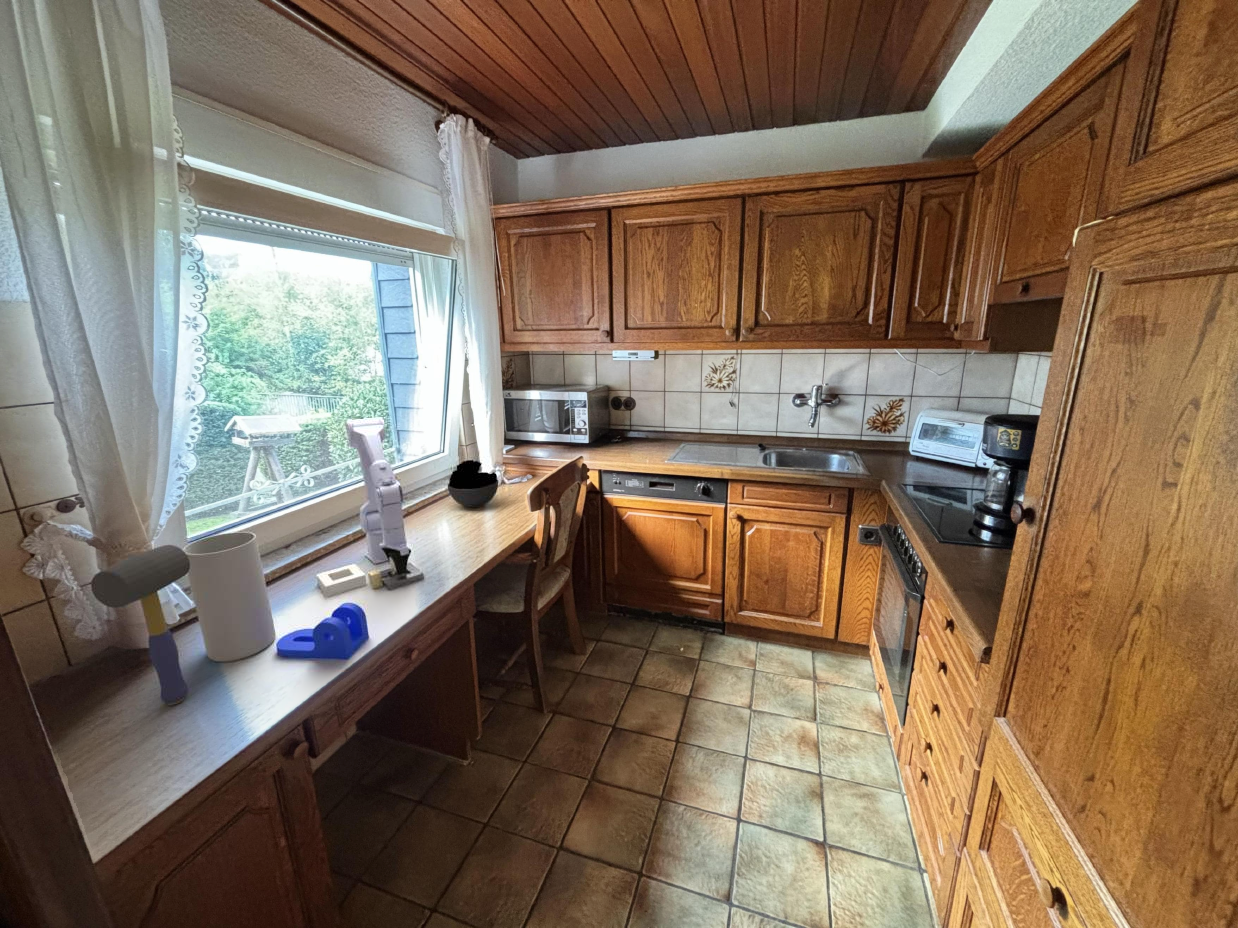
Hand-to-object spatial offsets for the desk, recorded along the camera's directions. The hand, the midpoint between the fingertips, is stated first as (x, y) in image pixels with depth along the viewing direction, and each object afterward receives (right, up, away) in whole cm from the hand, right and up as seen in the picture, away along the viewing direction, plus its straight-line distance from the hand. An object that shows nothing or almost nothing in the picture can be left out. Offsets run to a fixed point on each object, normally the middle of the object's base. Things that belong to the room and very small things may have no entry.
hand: (398, 570), depth 145 cm
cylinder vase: (-22, -11, -31) cm, 39 cm away
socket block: (0, -2, +1) cm, 2 cm away
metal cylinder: (0, -2, +1) cm, 2 cm away
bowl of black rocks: (+4, +13, +64) cm, 65 cm away
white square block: (-15, -3, -2) cm, 15 cm away
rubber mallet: (-22, -15, -48) cm, 55 cm away
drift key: (-4, -3, -3) cm, 6 cm away
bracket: (-4, -11, -31) cm, 33 cm away
